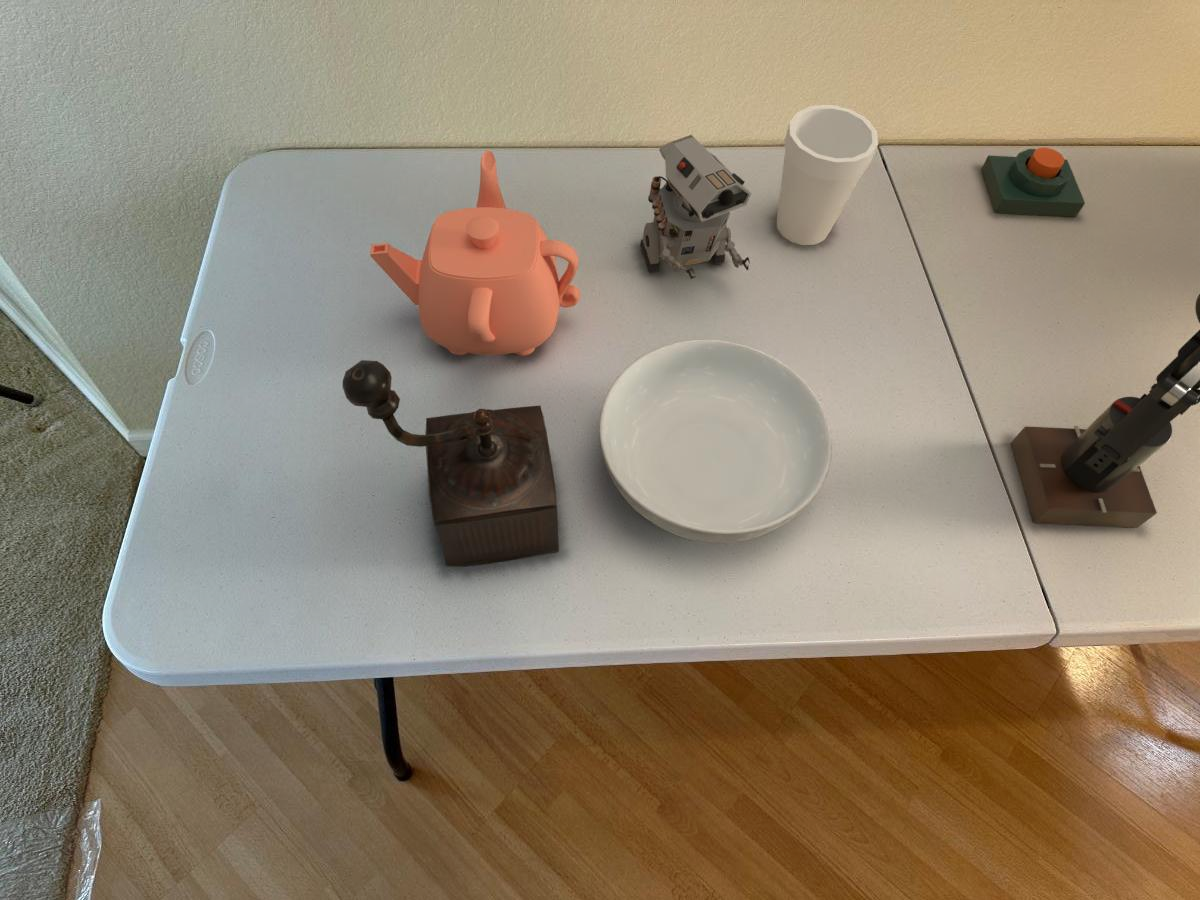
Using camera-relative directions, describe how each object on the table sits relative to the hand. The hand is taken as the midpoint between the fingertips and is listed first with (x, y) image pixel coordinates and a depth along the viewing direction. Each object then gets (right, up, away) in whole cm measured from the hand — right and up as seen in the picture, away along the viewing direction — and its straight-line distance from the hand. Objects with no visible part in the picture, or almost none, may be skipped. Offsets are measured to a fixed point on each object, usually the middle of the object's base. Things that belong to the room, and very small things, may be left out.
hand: (1096, 461), depth 75 cm
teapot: (-59, +16, +12) cm, 62 cm away
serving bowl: (-36, -1, +3) cm, 36 cm away
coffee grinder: (-58, -5, 0) cm, 58 cm away
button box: (+7, +33, +26) cm, 43 cm away
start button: (+7, +35, +23) cm, 42 cm away
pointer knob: (0, -1, +1) cm, 1 cm away
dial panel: (0, -2, +4) cm, 4 cm away
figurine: (-36, +21, +17) cm, 45 cm away
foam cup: (-22, +28, +21) cm, 41 cm away
